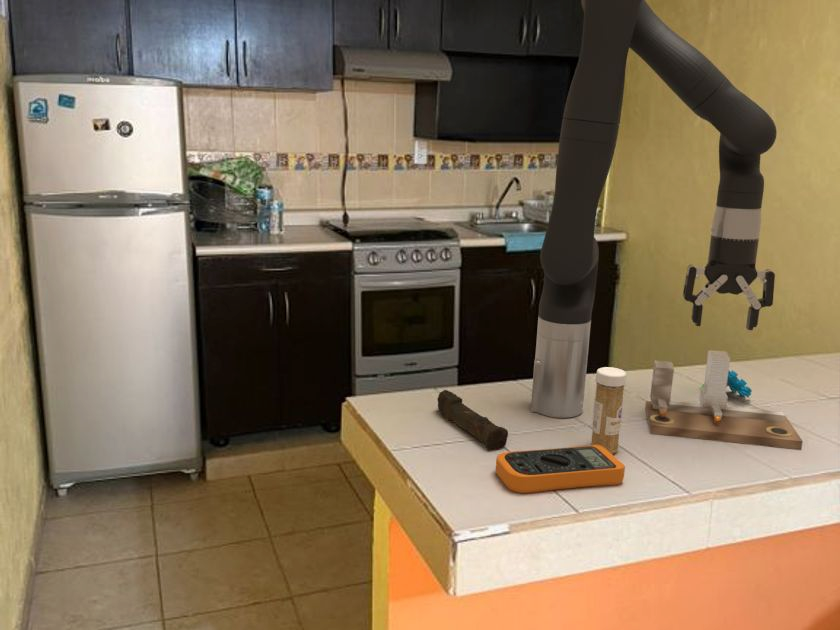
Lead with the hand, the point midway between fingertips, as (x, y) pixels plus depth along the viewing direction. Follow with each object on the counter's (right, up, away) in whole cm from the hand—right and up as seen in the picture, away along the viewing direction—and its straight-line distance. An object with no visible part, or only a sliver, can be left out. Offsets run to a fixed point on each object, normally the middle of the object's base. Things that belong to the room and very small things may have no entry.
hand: (723, 327), depth 135 cm
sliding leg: (-1, -15, +2) cm, 15 cm away
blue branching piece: (+7, -14, +18) cm, 24 cm away
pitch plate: (0, -18, +1) cm, 18 cm away
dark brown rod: (-45, -18, -3) cm, 49 cm away
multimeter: (-32, -22, -19) cm, 43 cm away
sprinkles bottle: (-23, -20, -9) cm, 32 cm away
